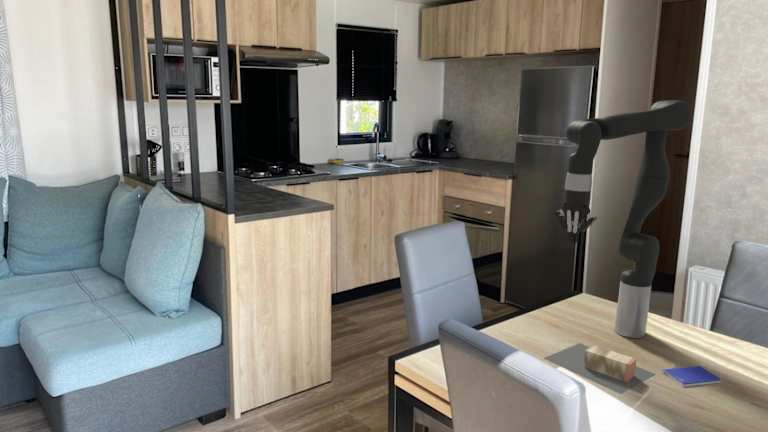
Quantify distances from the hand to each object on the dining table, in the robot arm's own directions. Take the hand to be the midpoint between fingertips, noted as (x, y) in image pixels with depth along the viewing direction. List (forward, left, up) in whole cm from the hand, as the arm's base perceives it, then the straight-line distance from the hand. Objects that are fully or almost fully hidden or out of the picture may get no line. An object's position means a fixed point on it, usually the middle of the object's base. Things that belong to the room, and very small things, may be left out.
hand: (572, 243), depth 173 cm
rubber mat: (+9, +18, -31) cm, 37 cm away
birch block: (+11, +16, -28) cm, 34 cm away
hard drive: (-8, +36, -32) cm, 49 cm away
